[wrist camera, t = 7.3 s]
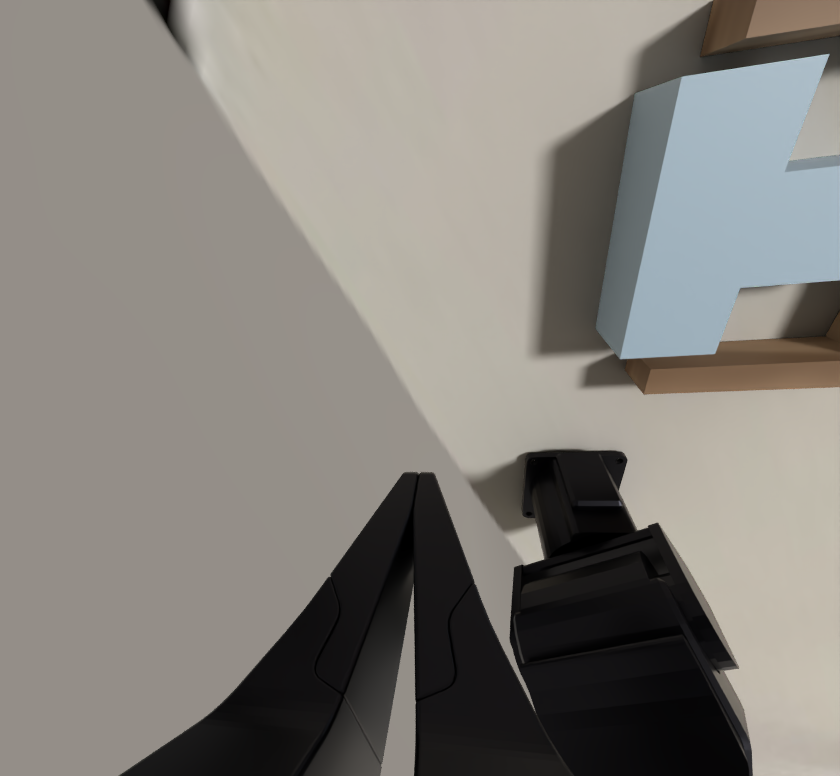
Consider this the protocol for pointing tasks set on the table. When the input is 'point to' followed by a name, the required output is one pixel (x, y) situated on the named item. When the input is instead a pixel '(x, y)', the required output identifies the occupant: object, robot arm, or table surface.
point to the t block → (715, 206)
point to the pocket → (770, 358)
